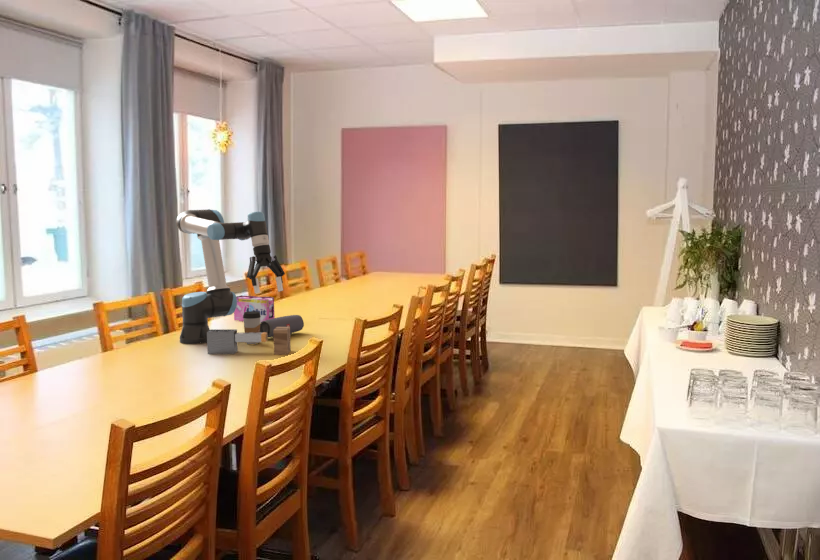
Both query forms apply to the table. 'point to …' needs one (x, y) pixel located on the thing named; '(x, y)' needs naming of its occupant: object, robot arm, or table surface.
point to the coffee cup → (251, 323)
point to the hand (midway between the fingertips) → (269, 292)
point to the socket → (282, 340)
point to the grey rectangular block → (221, 342)
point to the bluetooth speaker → (282, 324)
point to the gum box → (254, 307)
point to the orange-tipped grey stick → (250, 337)
